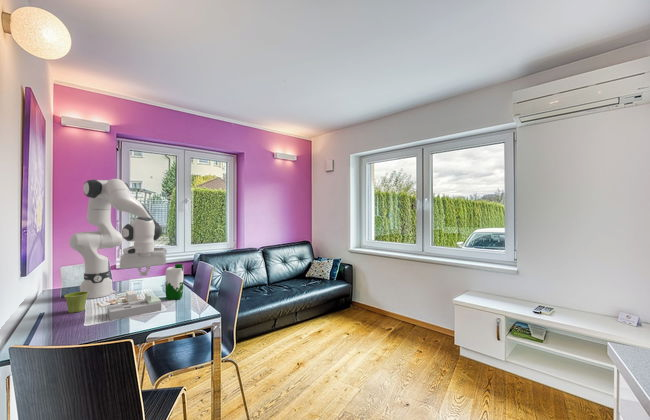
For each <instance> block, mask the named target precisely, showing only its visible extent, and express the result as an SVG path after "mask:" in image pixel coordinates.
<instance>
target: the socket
mask: <svg viewBox="0 0 650 420" xmlns="http://www.w3.org/2000/svg"><path fill="white" fill-rule="evenodd" d="M106 307H107V309H106V310H107V311H106V312H107V317H108V319H109V321H110V322H111V321H117V320H121V319H125V318H132V317H135V316H140V315H146V314H150V313H155V312H159V311H160V312H161V311H162V301H161V302H159V303H153V304H148V303H147V302H146V301H145V299H140V300H139V299H138V301H133V302H127V303H118V304H117V303H115V304H112V305H110V304H109V305H107V306H106Z"/></svg>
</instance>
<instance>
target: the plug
mask: <svg viewBox="0 0 650 420" xmlns="http://www.w3.org/2000/svg"><path fill="white" fill-rule="evenodd" d="M125 299H126V301H127V302H133V301H137V300H138V299H137V292H136V291H135V290H134V289H133V290H132V289H131V290H126V291H125Z"/></svg>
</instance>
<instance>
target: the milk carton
mask: <svg viewBox="0 0 650 420" xmlns="http://www.w3.org/2000/svg"><path fill="white" fill-rule="evenodd" d="M164 290H165V299H166V300H165V301H180V300H181V299H182V297H183V293H184V266H183V263H175V264H174V266H169V267H167V268H166V269H165V289H164Z"/></svg>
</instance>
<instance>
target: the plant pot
mask: <svg viewBox="0 0 650 420" xmlns="http://www.w3.org/2000/svg"><path fill="white" fill-rule="evenodd" d="M88 293H89V292H80V291H76V292H70V293H67V294H65V295H64V296H63V297H64V299H65V301H66V306H67V312H68V313H70V314H74V313H80V312H82V311H84V310H85V309H86V302H87V299H86V297H87V295H88Z"/></svg>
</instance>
